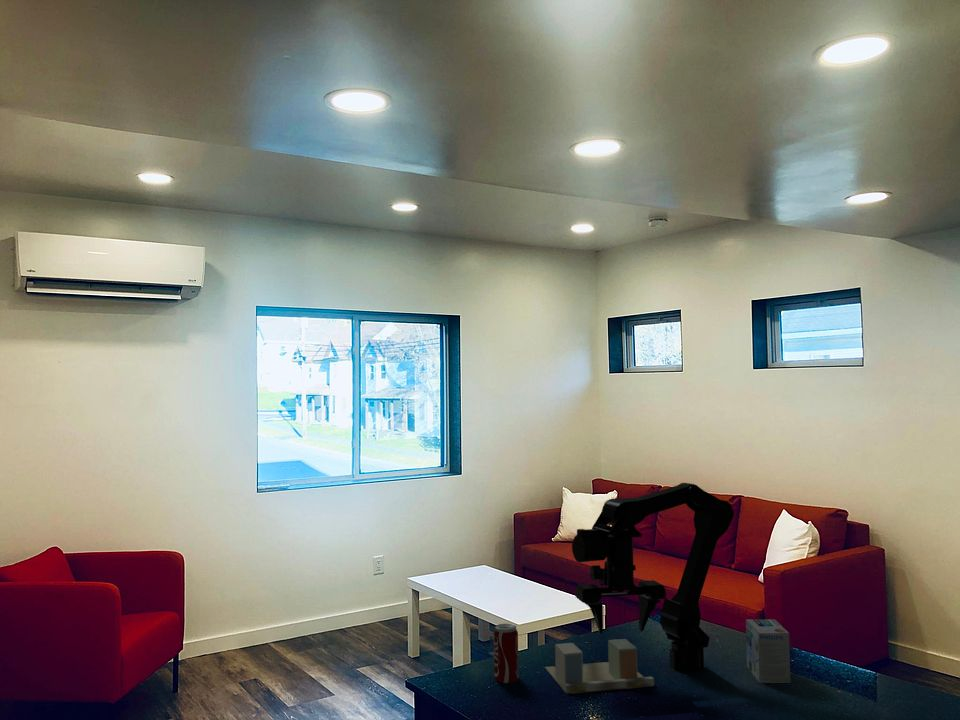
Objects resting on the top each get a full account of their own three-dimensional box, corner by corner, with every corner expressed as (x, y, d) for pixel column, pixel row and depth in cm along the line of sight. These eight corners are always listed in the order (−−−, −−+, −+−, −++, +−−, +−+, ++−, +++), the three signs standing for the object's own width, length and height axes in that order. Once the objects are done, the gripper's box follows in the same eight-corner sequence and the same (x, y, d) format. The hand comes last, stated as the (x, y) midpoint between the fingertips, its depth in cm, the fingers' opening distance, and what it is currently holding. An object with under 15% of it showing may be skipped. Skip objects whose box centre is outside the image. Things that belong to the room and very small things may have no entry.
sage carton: (626, 671, 167) (625, 638, 168) (637, 682, 161) (637, 648, 161) (608, 672, 167) (608, 640, 167) (619, 683, 160) (619, 649, 160)
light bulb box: (746, 666, 172) (744, 618, 173) (776, 667, 172) (775, 618, 172) (759, 684, 162) (758, 632, 162) (792, 684, 161) (790, 632, 162)
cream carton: (573, 675, 165) (572, 642, 165) (583, 687, 158) (582, 652, 159) (555, 677, 164) (555, 644, 165) (565, 688, 158) (564, 654, 158)
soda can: (516, 688, 161) (515, 630, 161) (492, 686, 162) (491, 629, 162) (520, 679, 166) (519, 623, 166) (496, 678, 167) (496, 622, 168)
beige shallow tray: (625, 665, 174) (624, 653, 174) (654, 691, 158) (654, 678, 158) (544, 671, 171) (544, 660, 171) (566, 698, 155) (566, 686, 155)
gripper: (645, 550, 175) (646, 619, 174) (567, 553, 171) (568, 624, 170) (666, 559, 164) (667, 633, 163) (583, 563, 160) (584, 639, 159)
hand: (621, 632), depth 164 cm, fingers open, 9 cm apart
